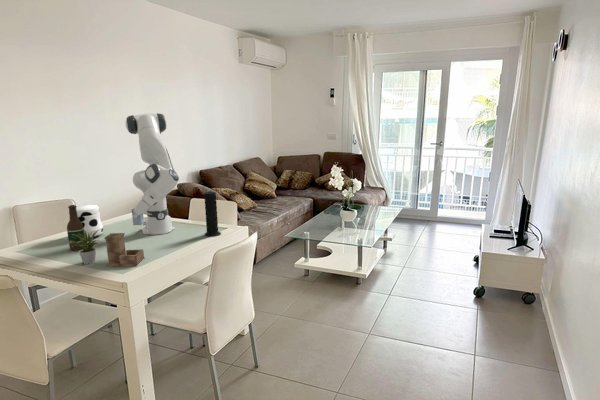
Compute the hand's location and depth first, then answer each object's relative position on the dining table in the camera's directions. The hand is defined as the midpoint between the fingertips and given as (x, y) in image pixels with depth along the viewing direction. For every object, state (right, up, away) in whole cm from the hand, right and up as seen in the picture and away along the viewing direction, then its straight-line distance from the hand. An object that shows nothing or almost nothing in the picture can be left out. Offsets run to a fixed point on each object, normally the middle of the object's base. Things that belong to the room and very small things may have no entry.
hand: (136, 215), depth 196 cm
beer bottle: (-36, -18, +11) cm, 42 cm away
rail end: (+1, -4, +1) cm, 4 cm away
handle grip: (+31, -13, +34) cm, 48 cm away
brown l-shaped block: (-1, -22, -11) cm, 25 cm away
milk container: (-43, -14, +32) cm, 56 cm away
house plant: (-19, -22, -8) cm, 30 cm away
